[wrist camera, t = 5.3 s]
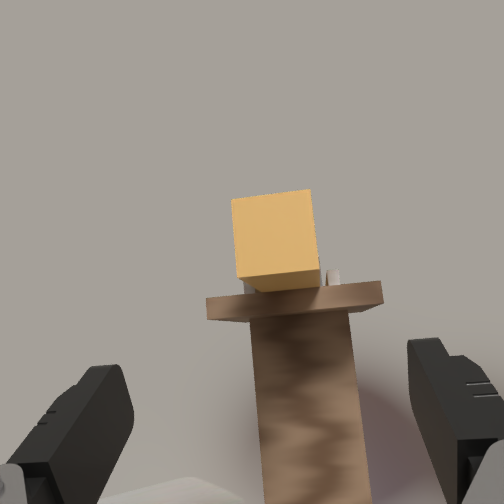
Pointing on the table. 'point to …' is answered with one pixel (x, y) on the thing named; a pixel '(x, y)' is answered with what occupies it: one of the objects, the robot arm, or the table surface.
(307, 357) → the stand
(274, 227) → the tan rectangular block
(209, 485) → the table surface
